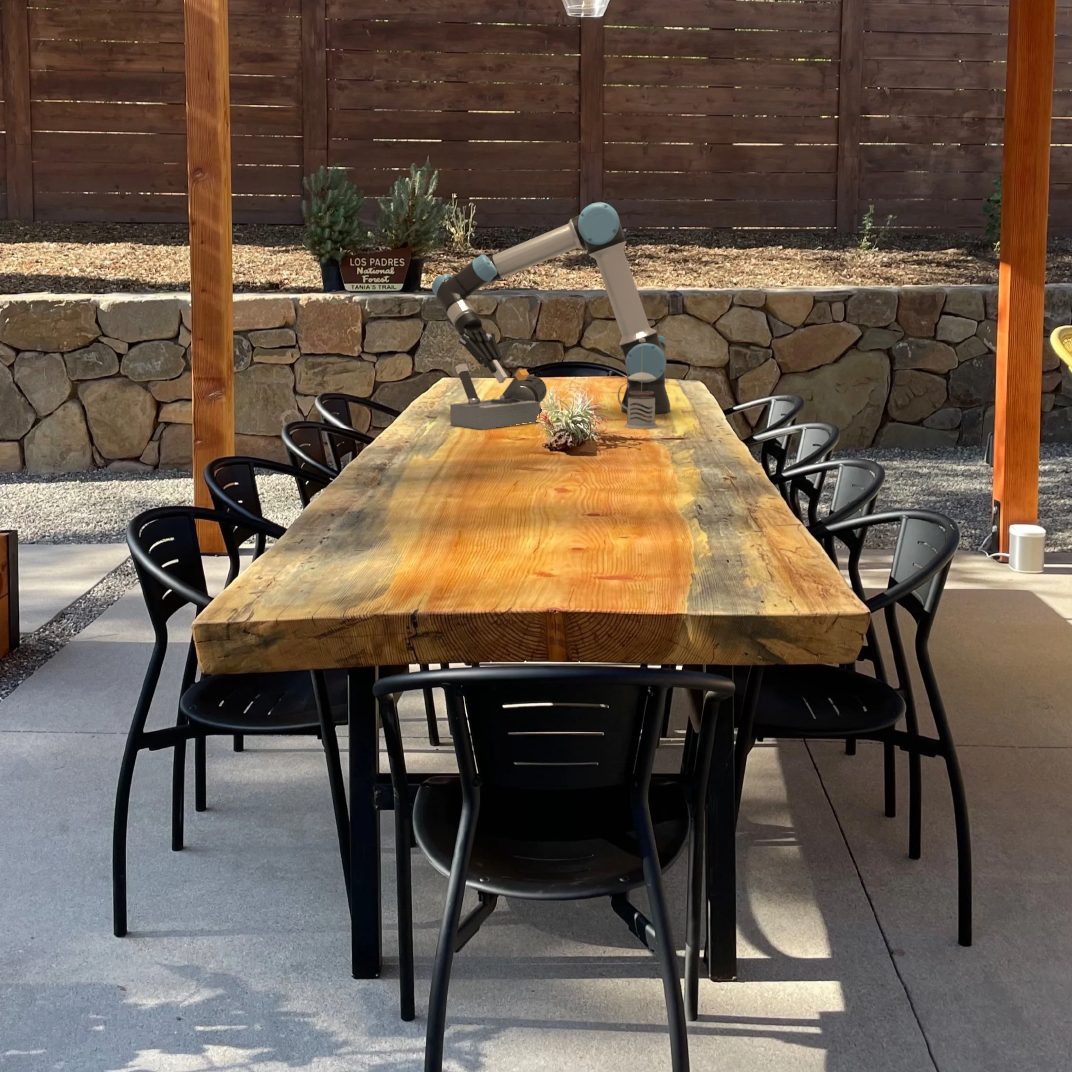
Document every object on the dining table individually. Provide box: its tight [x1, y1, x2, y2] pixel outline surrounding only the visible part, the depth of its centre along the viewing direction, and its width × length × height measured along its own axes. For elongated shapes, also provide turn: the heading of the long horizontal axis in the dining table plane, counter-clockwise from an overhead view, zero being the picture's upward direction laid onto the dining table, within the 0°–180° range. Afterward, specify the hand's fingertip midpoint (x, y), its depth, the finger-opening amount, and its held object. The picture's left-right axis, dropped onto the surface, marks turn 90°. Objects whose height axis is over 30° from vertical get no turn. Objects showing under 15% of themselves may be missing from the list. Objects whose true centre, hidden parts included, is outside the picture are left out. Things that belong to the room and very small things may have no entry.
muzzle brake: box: [511, 375, 548, 403], centre depth 418 cm, size 10×28×10 cm, turn 174°
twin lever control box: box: [449, 363, 541, 430], centre depth 391 cm, size 22×14×18 cm, turn 133°
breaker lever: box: [499, 369, 530, 401], centre depth 391 cm, size 3×2×12 cm
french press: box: [617, 338, 659, 430], centre depth 384 cm, size 10×12×25 cm
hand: (503, 380), depth 394 cm, fingers closed
